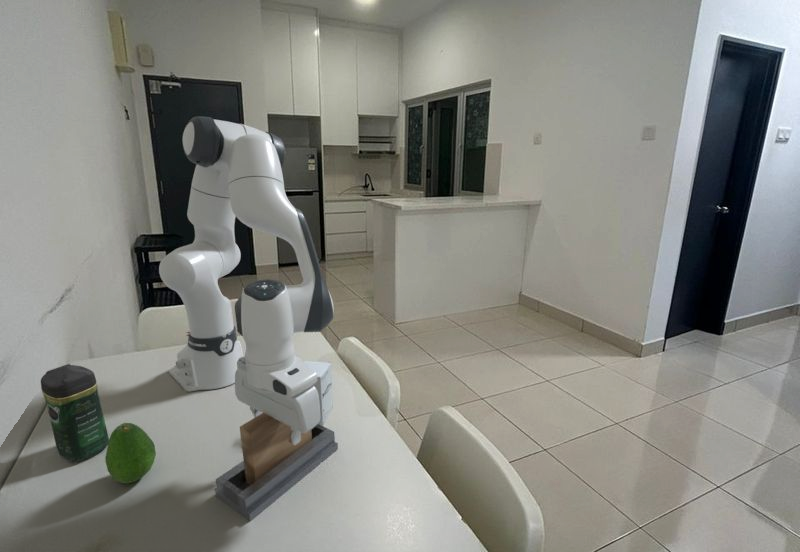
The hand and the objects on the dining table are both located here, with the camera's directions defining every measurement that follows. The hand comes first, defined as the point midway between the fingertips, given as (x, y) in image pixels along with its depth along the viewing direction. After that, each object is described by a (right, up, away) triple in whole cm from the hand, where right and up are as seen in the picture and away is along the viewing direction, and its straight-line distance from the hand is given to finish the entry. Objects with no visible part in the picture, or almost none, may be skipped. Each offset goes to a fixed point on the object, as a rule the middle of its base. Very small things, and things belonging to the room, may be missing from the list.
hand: (277, 433), depth 79 cm
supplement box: (+3, -4, +20) cm, 21 cm away
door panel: (0, -7, +2) cm, 7 cm away
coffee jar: (-44, -7, +9) cm, 45 cm away
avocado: (-28, -9, +1) cm, 29 cm away
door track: (0, -8, +2) cm, 9 cm away
